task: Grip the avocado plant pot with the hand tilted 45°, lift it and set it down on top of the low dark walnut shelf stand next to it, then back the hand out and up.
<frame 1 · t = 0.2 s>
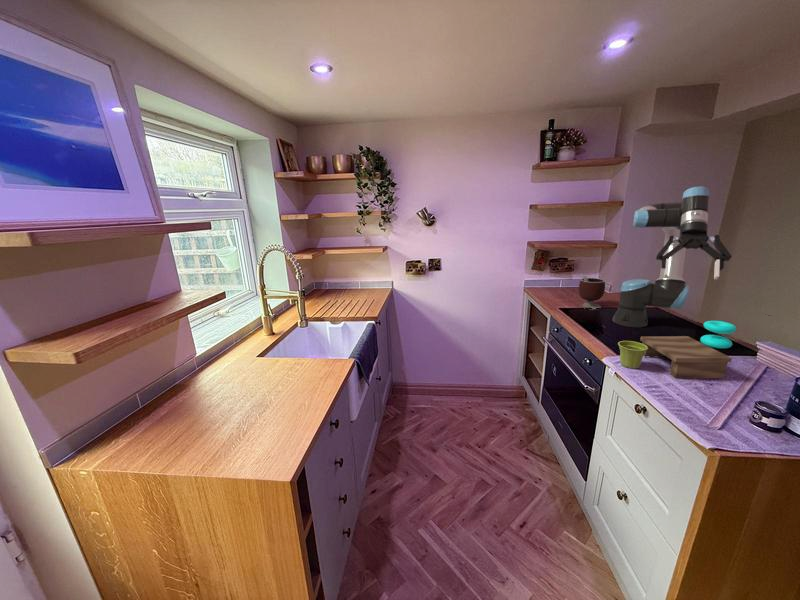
hand: (690, 277, 113), 36 cm above the countertop, tool tilted 35°, fingers open, 13 cm apart
plant pot: (629, 365, 125), on the countertop
mate gourd: (588, 306, 198), on the countertop
donuts: (715, 345, 138), on the countertop
walnut shelf stand: (678, 365, 123), on the countertop
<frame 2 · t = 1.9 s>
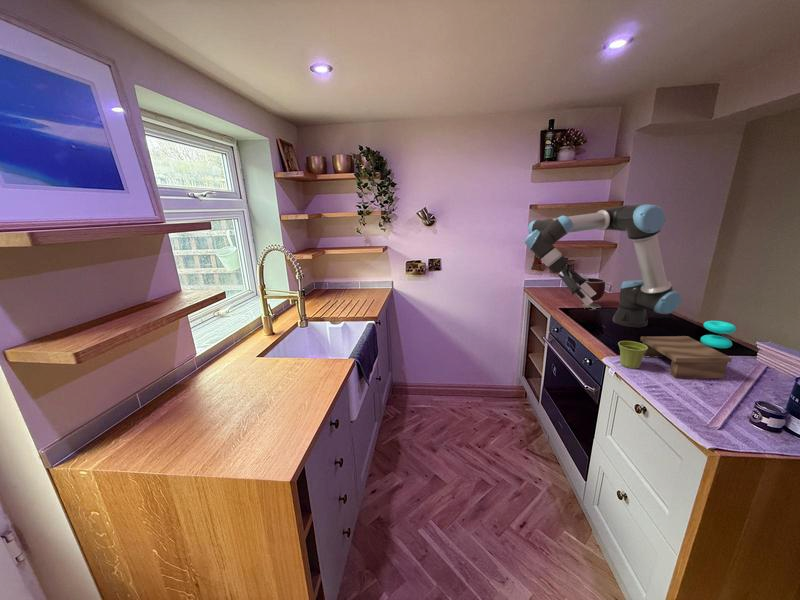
hand: (592, 299, 127), 25 cm above the countertop, tool tilted 45°, fingers open, 13 cm apart
nothing on the countertop moved.
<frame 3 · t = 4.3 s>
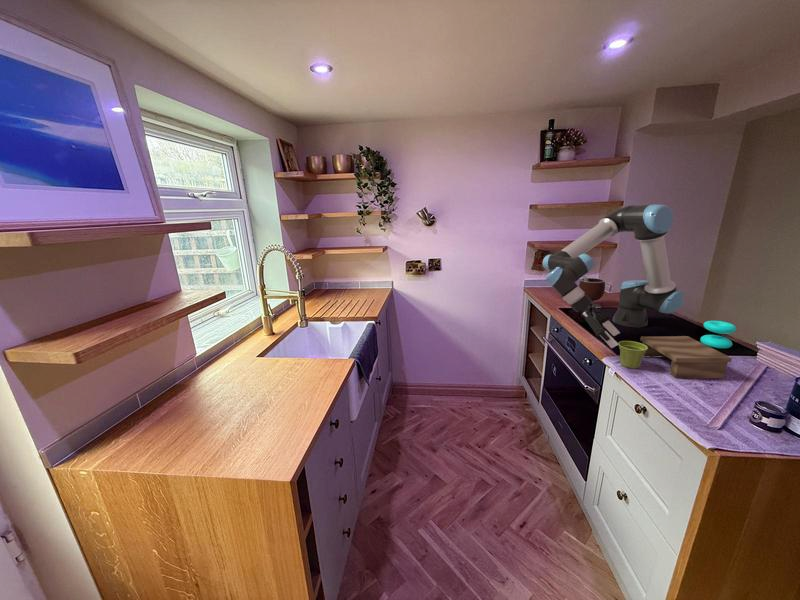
hand: (616, 340, 125), 10 cm above the countertop, tool tilted 45°, fingers open, 13 cm apart
nothing on the countertop moved.
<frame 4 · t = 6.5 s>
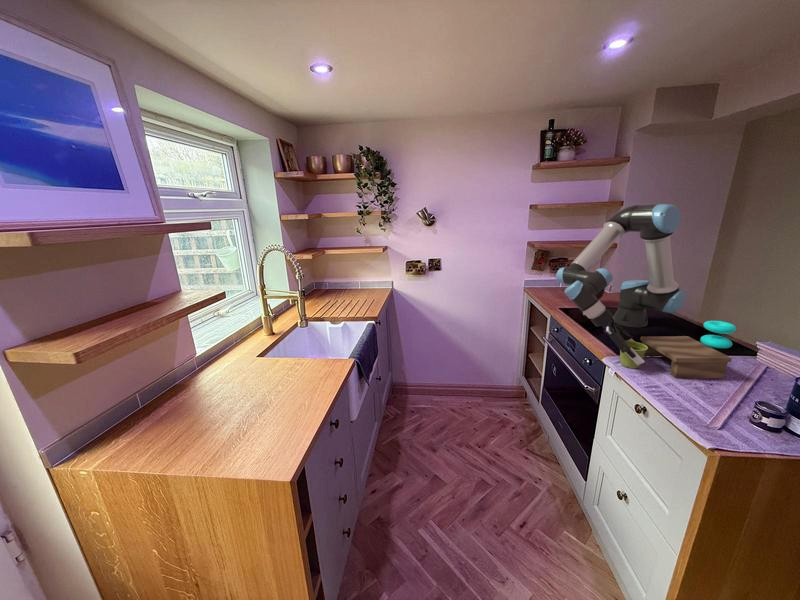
hand: (640, 358, 122), 4 cm above the countertop, tool tilted 45°, fingers closed on plant pot, 9 cm apart
plant pot: (629, 365, 125), on the countertop, touching gripper
everything else where it was.
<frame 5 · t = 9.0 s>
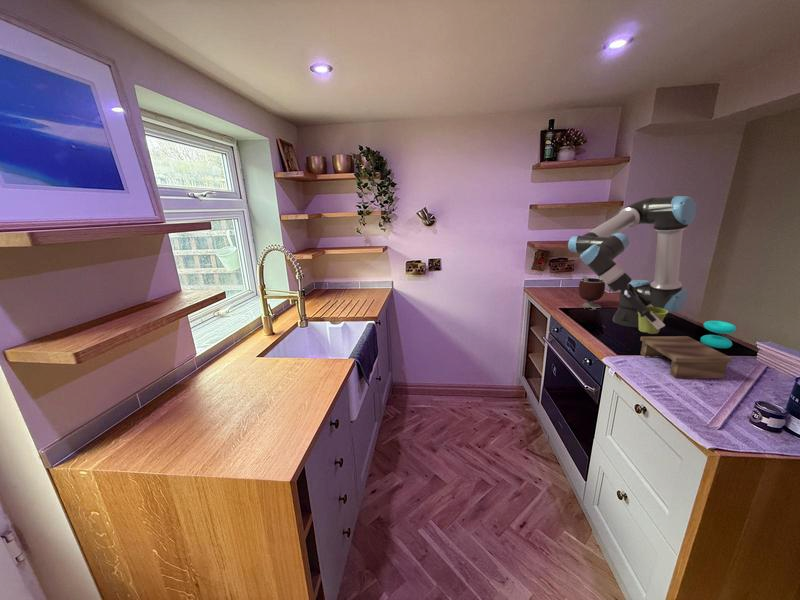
hand: (660, 322, 117), 19 cm above the countertop, tool tilted 45°, fingers closed on plant pot, 9 cm apart
plant pot: (648, 331, 120), point 15 cm above the countertop, touching gripper
everything else where it was.
when the fingers open (13 cm above the countertop, at t = 11.3 s): plant pot drops 1 cm, resting on walnut shelf stand.
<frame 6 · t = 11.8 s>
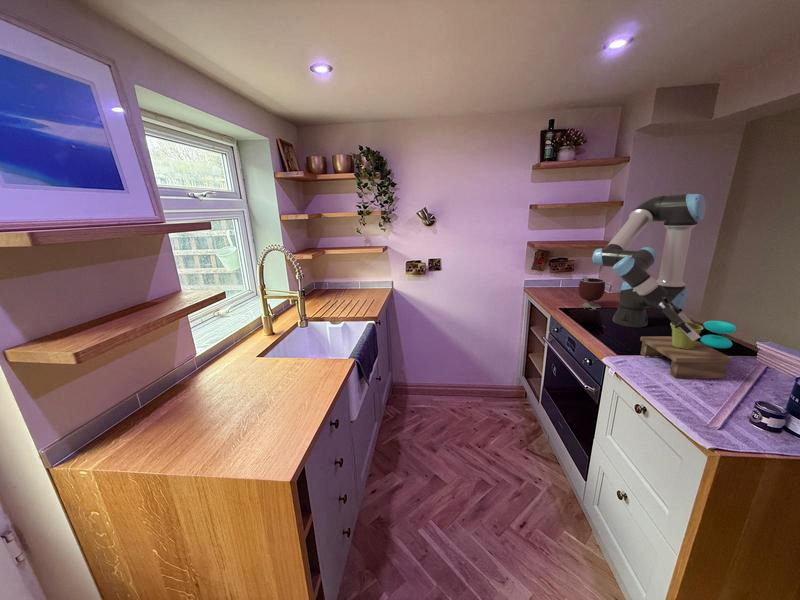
hand: (693, 332, 118), 14 cm above the countertop, tool tilted 45°, fingers open, 13 cm apart
plant pot: (682, 346, 121), point 8 cm above the countertop, touching walnut shelf stand
everything else where it was.
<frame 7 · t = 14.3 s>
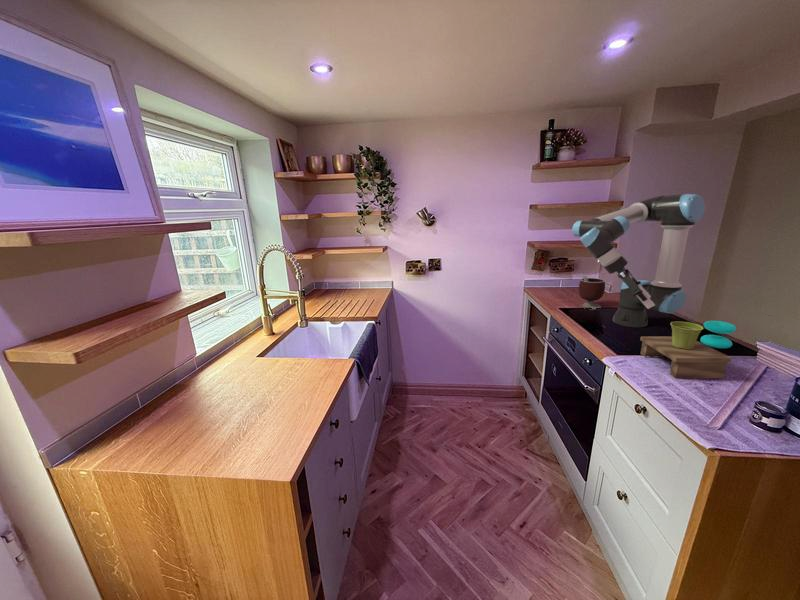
hand: (649, 302, 124), 24 cm above the countertop, tool tilted 40°, fingers open, 13 cm apart
nothing on the countertop moved.
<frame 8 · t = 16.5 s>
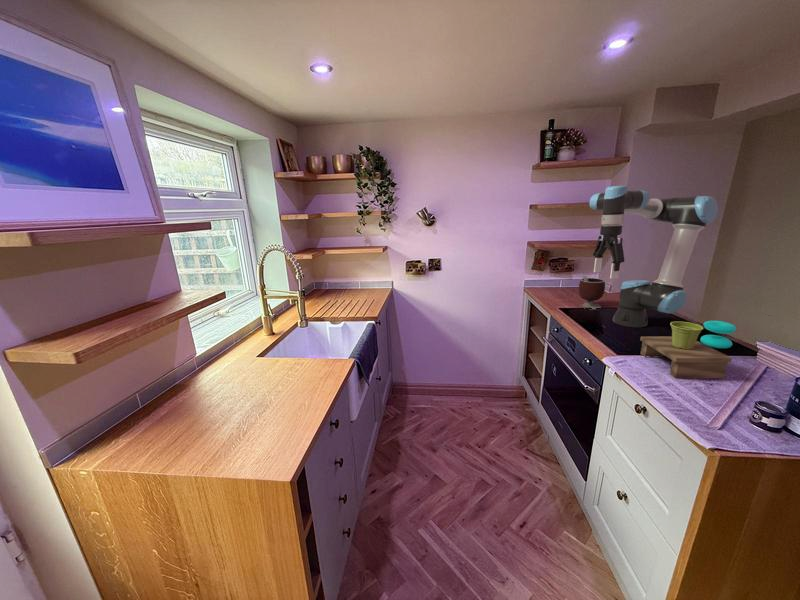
hand: (605, 275, 135), 33 cm above the countertop, tool pointing down, fingers open, 13 cm apart
nothing on the countertop moved.
at the end: plant pot inside the target area on the walnut shelf stand (0.1 cm from its centre), point 7.8 cm above the walnut shelf stand's base; plant pot tilted 0°; the gripper is holding nothing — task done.
